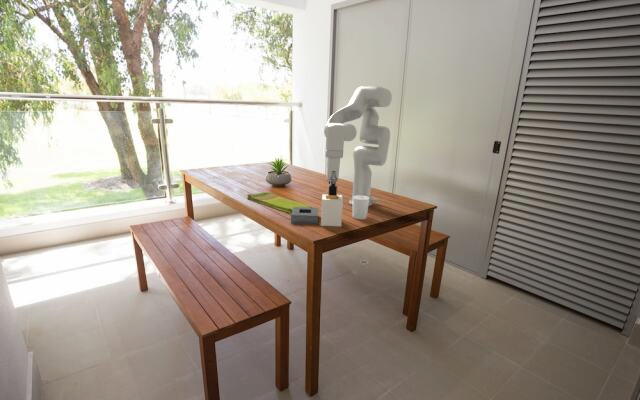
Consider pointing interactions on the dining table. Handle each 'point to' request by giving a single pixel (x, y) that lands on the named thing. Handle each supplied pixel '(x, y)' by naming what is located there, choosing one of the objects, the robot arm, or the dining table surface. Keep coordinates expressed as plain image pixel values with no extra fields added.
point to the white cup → (360, 206)
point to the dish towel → (275, 201)
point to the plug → (331, 195)
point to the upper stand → (331, 211)
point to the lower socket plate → (304, 215)
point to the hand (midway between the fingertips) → (332, 192)
